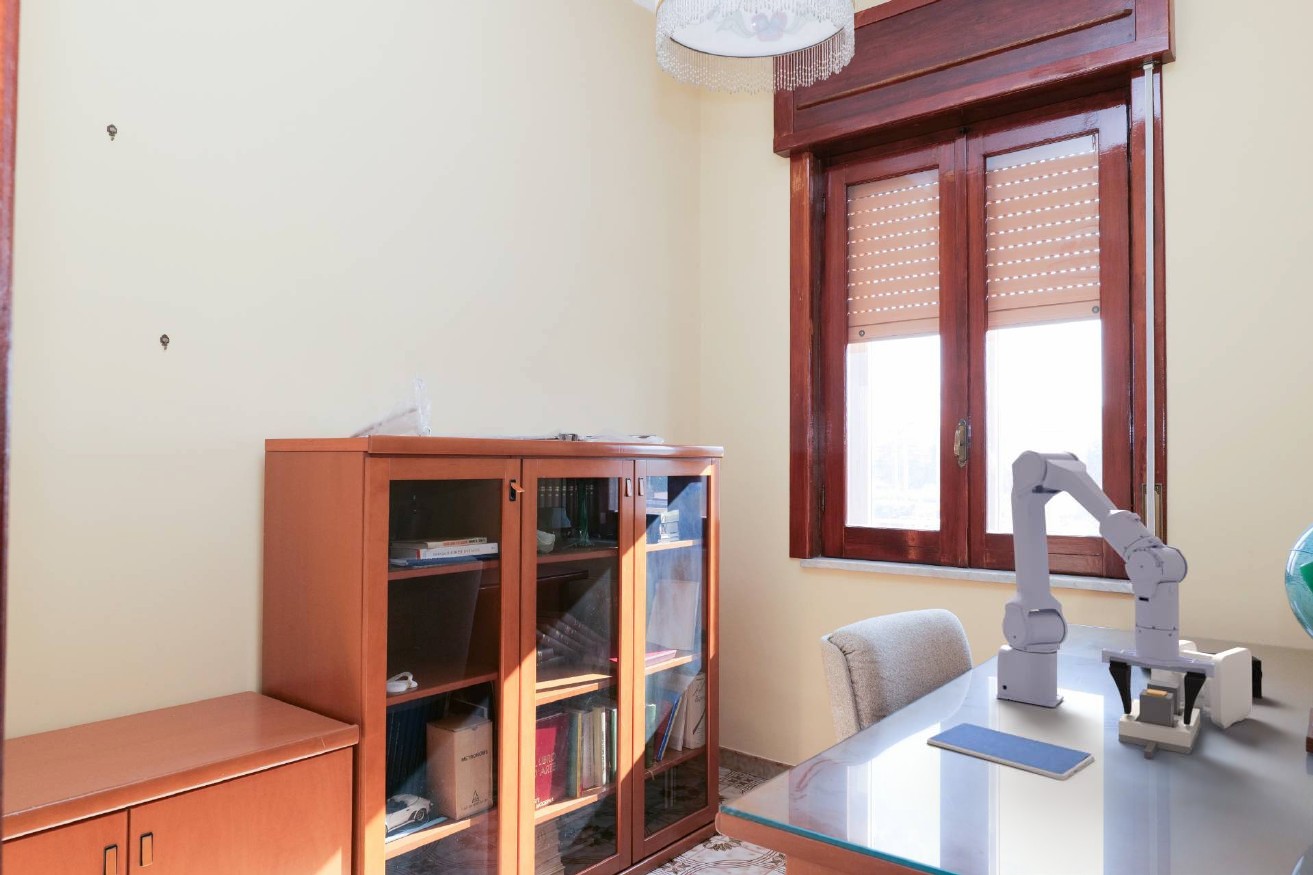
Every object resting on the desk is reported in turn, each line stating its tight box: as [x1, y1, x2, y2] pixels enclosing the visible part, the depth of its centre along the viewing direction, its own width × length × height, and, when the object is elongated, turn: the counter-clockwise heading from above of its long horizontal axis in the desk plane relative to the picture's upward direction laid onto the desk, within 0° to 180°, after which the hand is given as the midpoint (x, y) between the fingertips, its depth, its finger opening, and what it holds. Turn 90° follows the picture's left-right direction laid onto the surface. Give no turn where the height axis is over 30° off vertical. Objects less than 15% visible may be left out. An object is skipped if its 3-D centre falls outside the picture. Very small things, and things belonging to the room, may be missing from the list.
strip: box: [1118, 679, 1201, 760], centre depth 124 cm, size 22×9×7 cm, turn 142°
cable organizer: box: [1150, 639, 1253, 729], centre depth 137 cm, size 15×11×12 cm
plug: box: [1138, 688, 1174, 728], centre depth 123 cm, size 4×4×6 cm
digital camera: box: [1199, 651, 1263, 699], centre depth 153 cm, size 10×5×7 cm, turn 72°
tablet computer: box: [926, 722, 1095, 781], centre depth 117 cm, size 19×13×1 cm, turn 44°
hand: (1157, 717), depth 124 cm, fingers open, 7 cm apart
